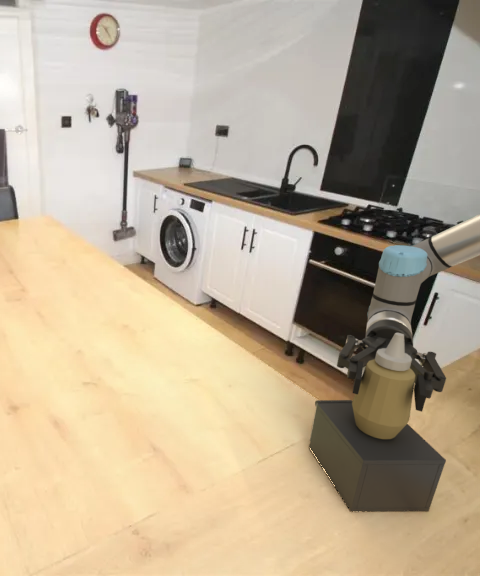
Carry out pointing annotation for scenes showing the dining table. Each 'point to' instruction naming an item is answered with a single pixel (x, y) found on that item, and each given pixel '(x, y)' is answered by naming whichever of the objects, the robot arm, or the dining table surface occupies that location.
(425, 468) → the cabinet
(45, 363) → the dining table surface
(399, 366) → the squeeze bottle
